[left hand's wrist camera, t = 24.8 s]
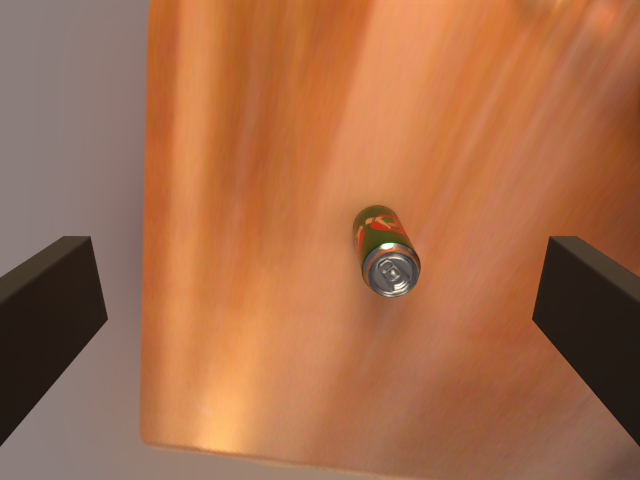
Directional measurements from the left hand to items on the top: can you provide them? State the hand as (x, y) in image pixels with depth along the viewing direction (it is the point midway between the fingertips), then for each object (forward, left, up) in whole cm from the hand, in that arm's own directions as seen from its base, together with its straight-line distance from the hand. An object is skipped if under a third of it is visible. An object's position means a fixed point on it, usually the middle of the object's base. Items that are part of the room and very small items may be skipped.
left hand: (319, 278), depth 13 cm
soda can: (+1, +12, -33) cm, 35 cm away
